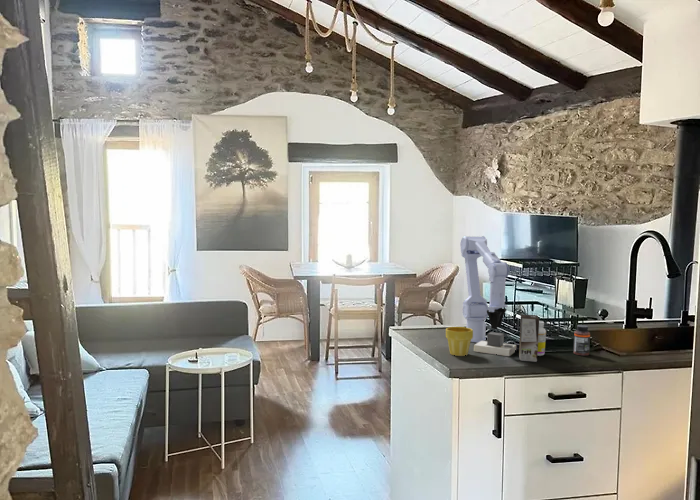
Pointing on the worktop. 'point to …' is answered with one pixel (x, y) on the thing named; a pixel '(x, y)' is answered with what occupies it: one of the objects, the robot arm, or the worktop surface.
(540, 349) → the supplement bottle
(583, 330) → the supplement bottle
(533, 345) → the coffee box
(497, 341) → the plug
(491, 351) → the socket
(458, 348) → the plant pot
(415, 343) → the worktop surface
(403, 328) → the worktop surface
